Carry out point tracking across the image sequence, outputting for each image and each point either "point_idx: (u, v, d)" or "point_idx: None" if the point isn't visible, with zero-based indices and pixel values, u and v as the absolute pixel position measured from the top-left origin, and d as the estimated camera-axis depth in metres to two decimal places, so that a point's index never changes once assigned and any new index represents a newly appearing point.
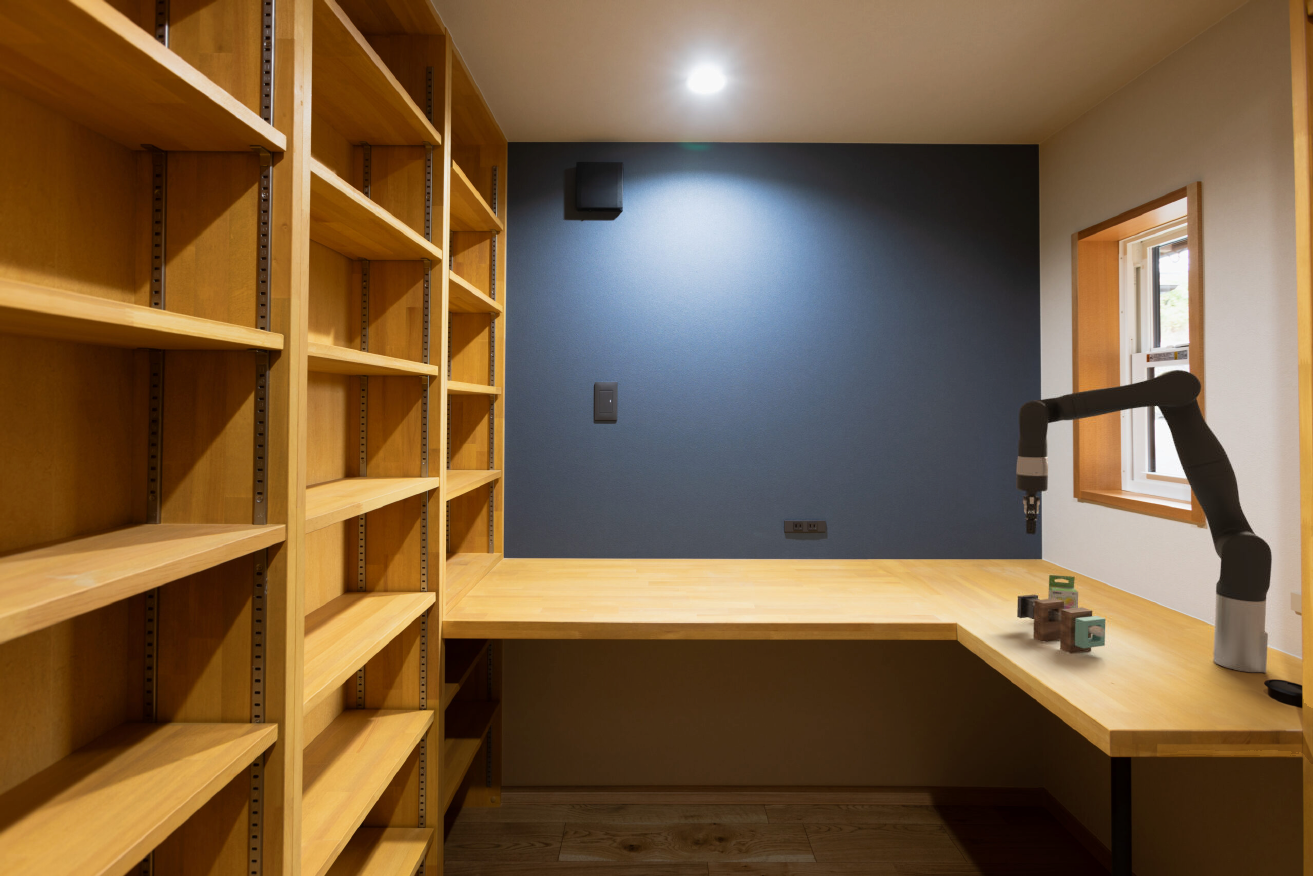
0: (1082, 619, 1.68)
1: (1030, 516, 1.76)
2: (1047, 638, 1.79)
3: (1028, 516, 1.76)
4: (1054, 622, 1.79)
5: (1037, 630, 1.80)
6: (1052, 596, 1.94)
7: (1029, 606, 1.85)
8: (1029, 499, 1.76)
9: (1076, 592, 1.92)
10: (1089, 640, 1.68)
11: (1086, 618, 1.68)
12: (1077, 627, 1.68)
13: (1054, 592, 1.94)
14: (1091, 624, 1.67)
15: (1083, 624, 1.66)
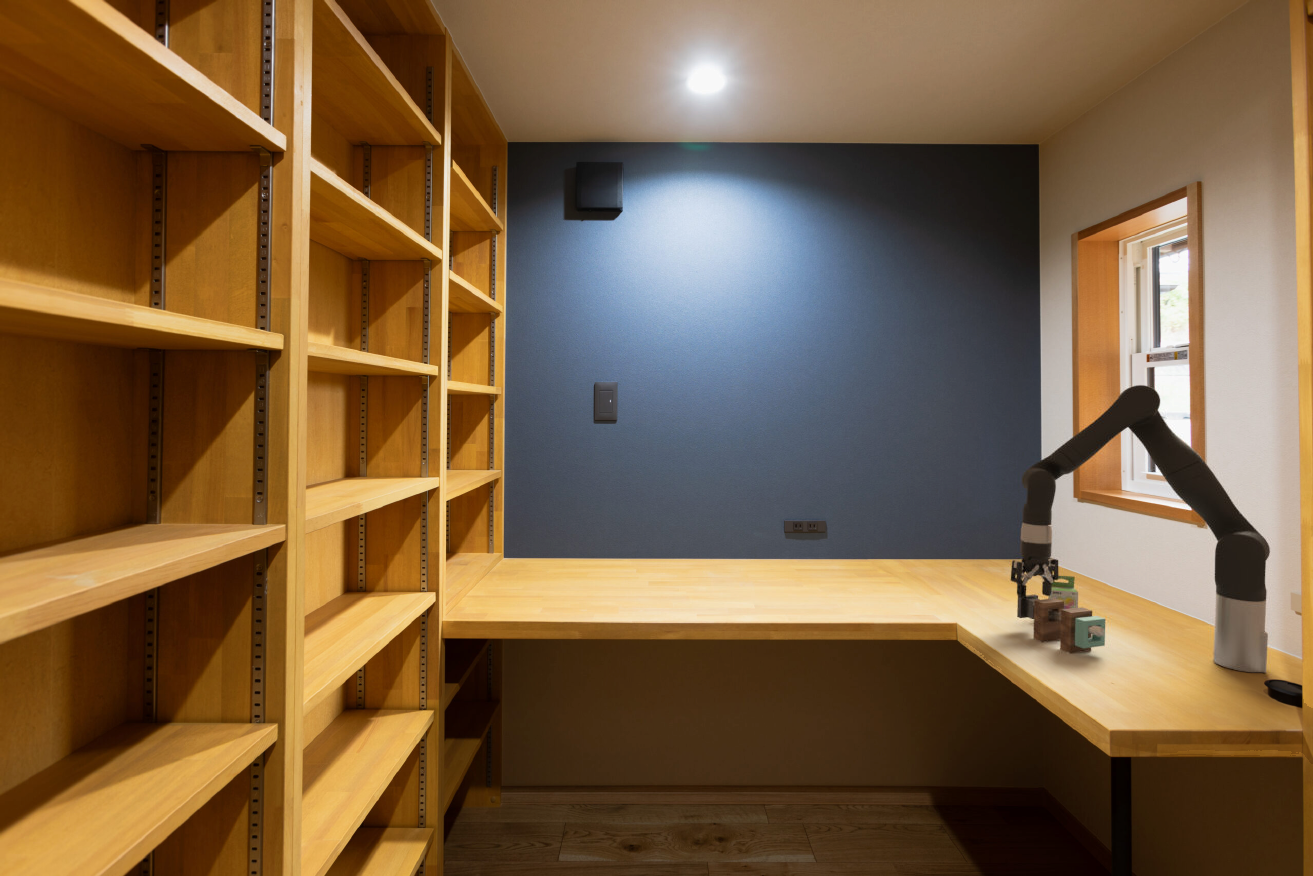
0: (1082, 619, 1.68)
1: None
2: (1047, 638, 1.79)
3: None
4: (1054, 622, 1.79)
5: (1037, 630, 1.80)
6: (1052, 596, 1.94)
7: (1029, 606, 1.85)
8: None
9: (1076, 592, 1.92)
10: (1089, 640, 1.68)
11: (1086, 618, 1.68)
12: (1077, 627, 1.68)
13: (1054, 592, 1.94)
14: (1091, 624, 1.67)
15: (1083, 624, 1.66)
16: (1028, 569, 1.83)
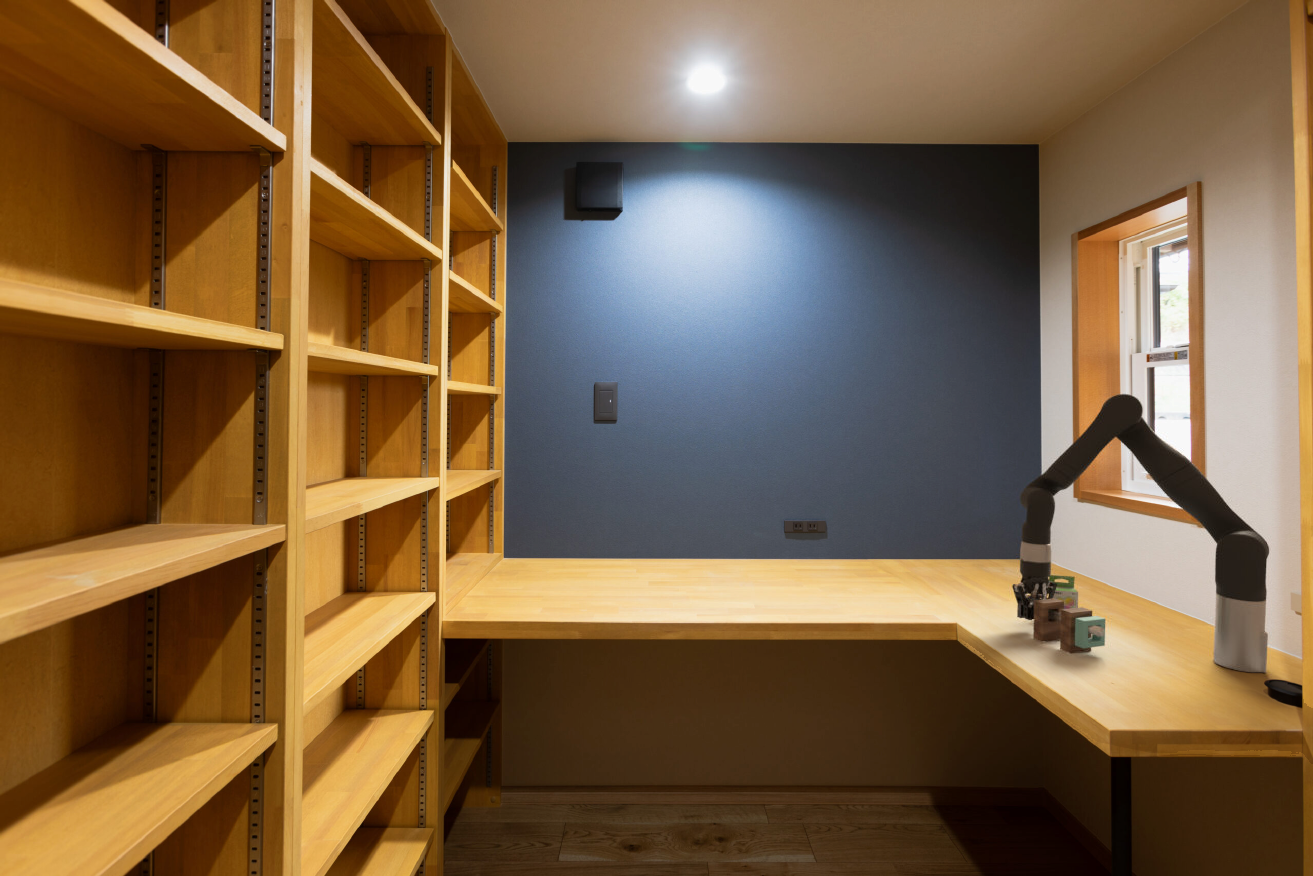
0: (1082, 619, 1.68)
1: None
2: (1047, 638, 1.79)
3: None
4: (1054, 622, 1.79)
5: (1037, 630, 1.80)
6: None
7: None
8: None
9: (1076, 592, 1.92)
10: (1089, 640, 1.68)
11: (1086, 618, 1.68)
12: (1077, 627, 1.68)
13: None
14: (1091, 624, 1.67)
15: (1083, 624, 1.66)
16: (1029, 590, 1.83)
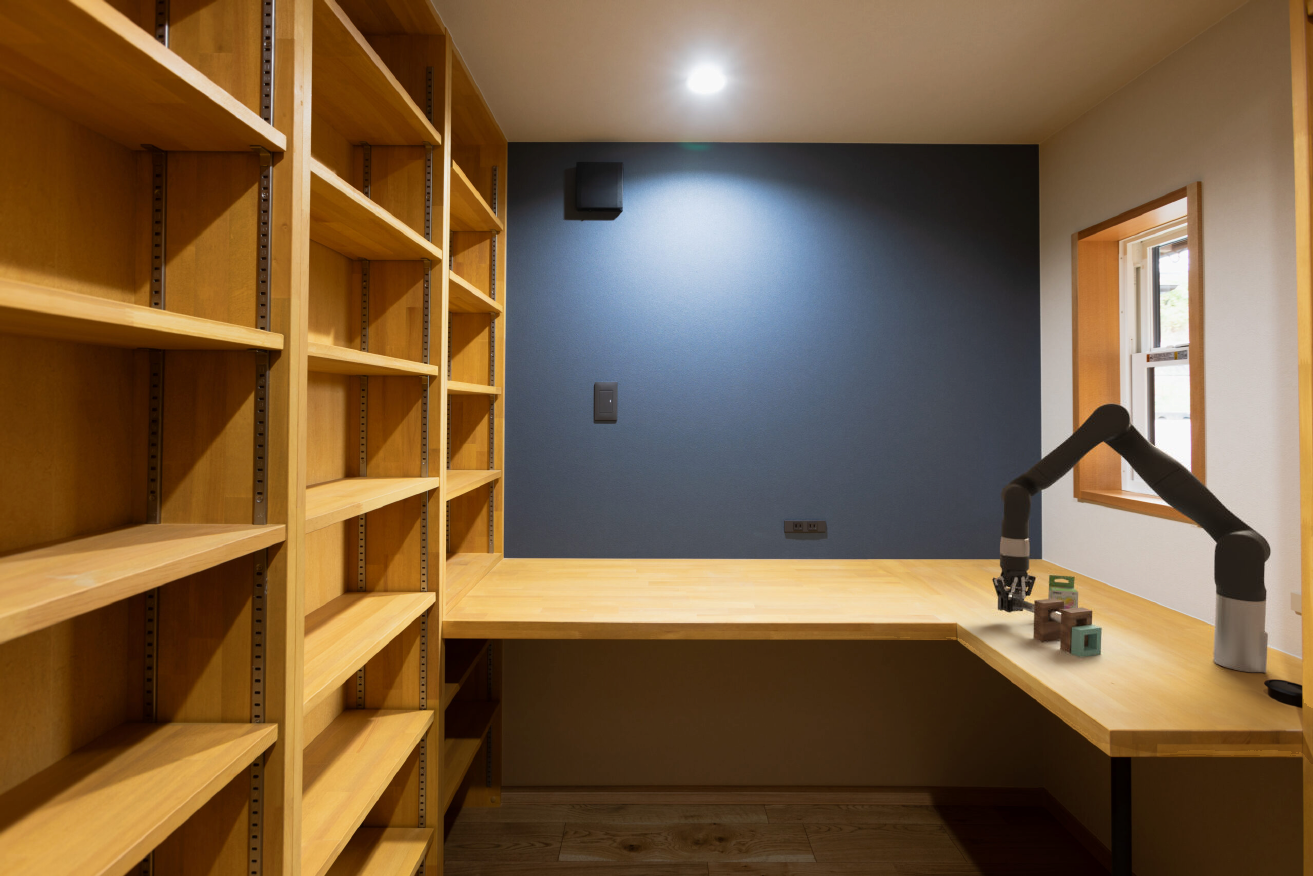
0: (1078, 628, 1.69)
1: None
2: (1047, 638, 1.79)
3: None
4: (1054, 622, 1.79)
5: (1037, 630, 1.80)
6: (1052, 596, 1.94)
7: None
8: None
9: (1076, 592, 1.92)
10: (1085, 649, 1.69)
11: (1082, 627, 1.69)
12: (1073, 636, 1.69)
13: (1054, 592, 1.94)
14: (1087, 633, 1.68)
15: (1079, 633, 1.67)
16: (1009, 584, 1.90)
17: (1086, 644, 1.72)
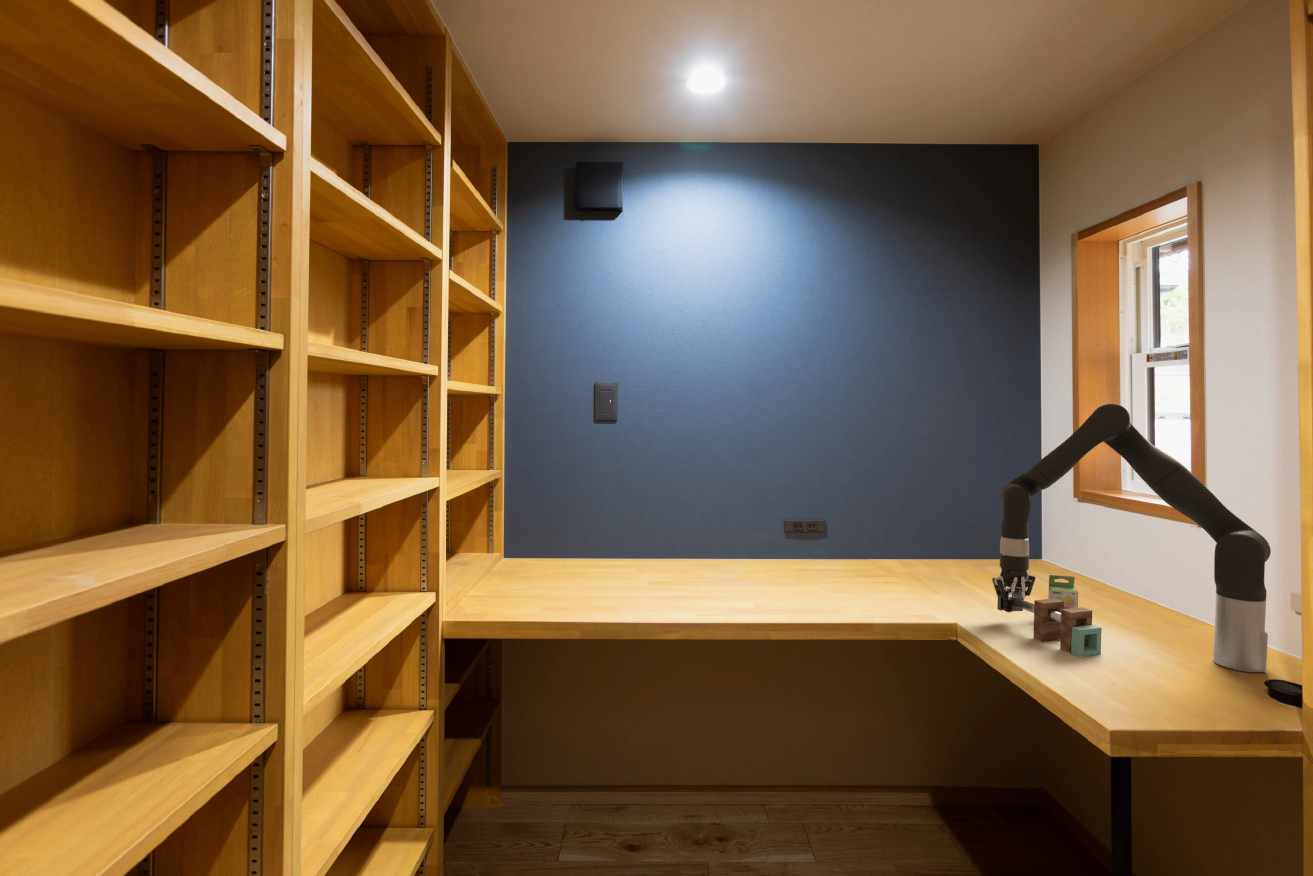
0: (1078, 628, 1.69)
1: None
2: (1047, 638, 1.79)
3: None
4: (1054, 622, 1.79)
5: (1037, 630, 1.80)
6: (1052, 596, 1.94)
7: None
8: None
9: (1076, 592, 1.92)
10: (1085, 649, 1.69)
11: (1082, 627, 1.69)
12: (1073, 636, 1.69)
13: (1054, 592, 1.94)
14: (1087, 633, 1.68)
15: (1079, 633, 1.67)
16: (1008, 584, 1.90)
17: (1086, 644, 1.72)
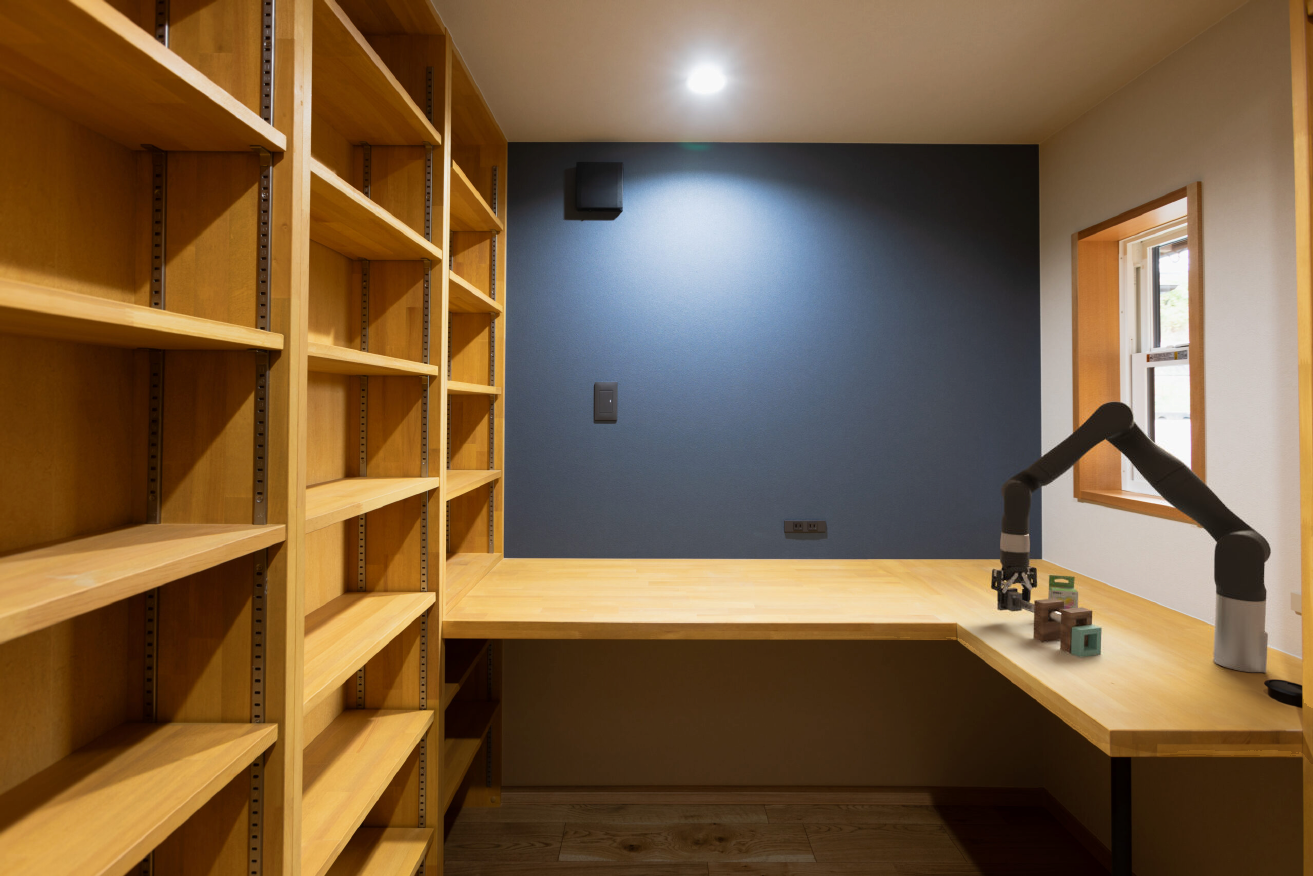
0: (1078, 628, 1.69)
1: None
2: (1047, 638, 1.79)
3: None
4: (1054, 622, 1.79)
5: (1037, 630, 1.80)
6: (1052, 596, 1.94)
7: (1008, 599, 1.92)
8: None
9: (1076, 592, 1.92)
10: (1085, 649, 1.69)
11: (1082, 627, 1.69)
12: (1073, 636, 1.69)
13: (1054, 592, 1.94)
14: (1087, 633, 1.68)
15: (1079, 633, 1.67)
16: (1007, 577, 1.90)
17: (1086, 644, 1.72)
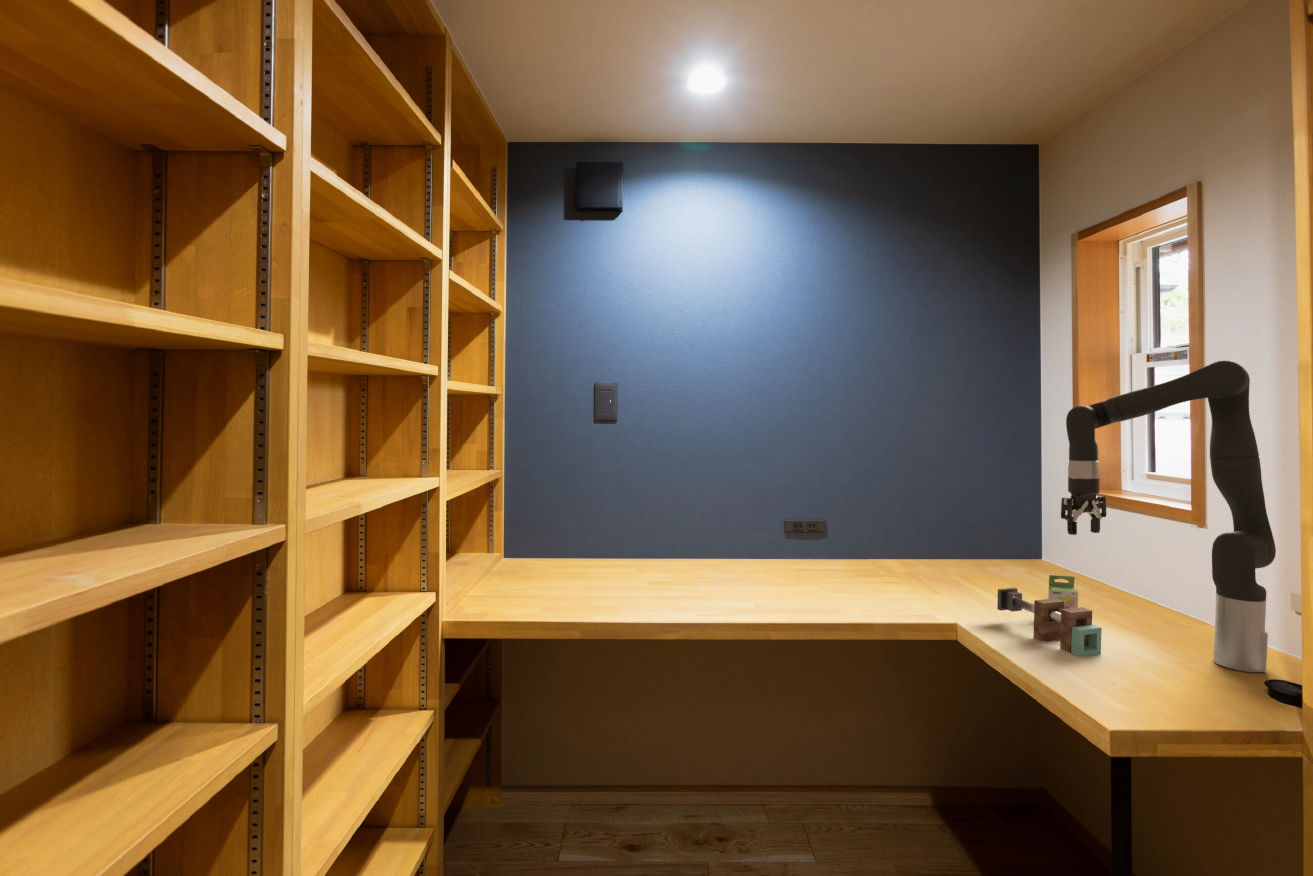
0: (1078, 628, 1.69)
1: None
2: (1047, 638, 1.79)
3: None
4: (1054, 622, 1.79)
5: (1037, 630, 1.80)
6: (1052, 596, 1.94)
7: (1008, 599, 1.92)
8: None
9: (1076, 592, 1.92)
10: (1085, 649, 1.69)
11: (1082, 627, 1.69)
12: (1073, 636, 1.69)
13: (1054, 592, 1.94)
14: (1087, 633, 1.68)
15: (1079, 633, 1.67)
16: (1078, 505, 1.84)
17: (1086, 644, 1.72)
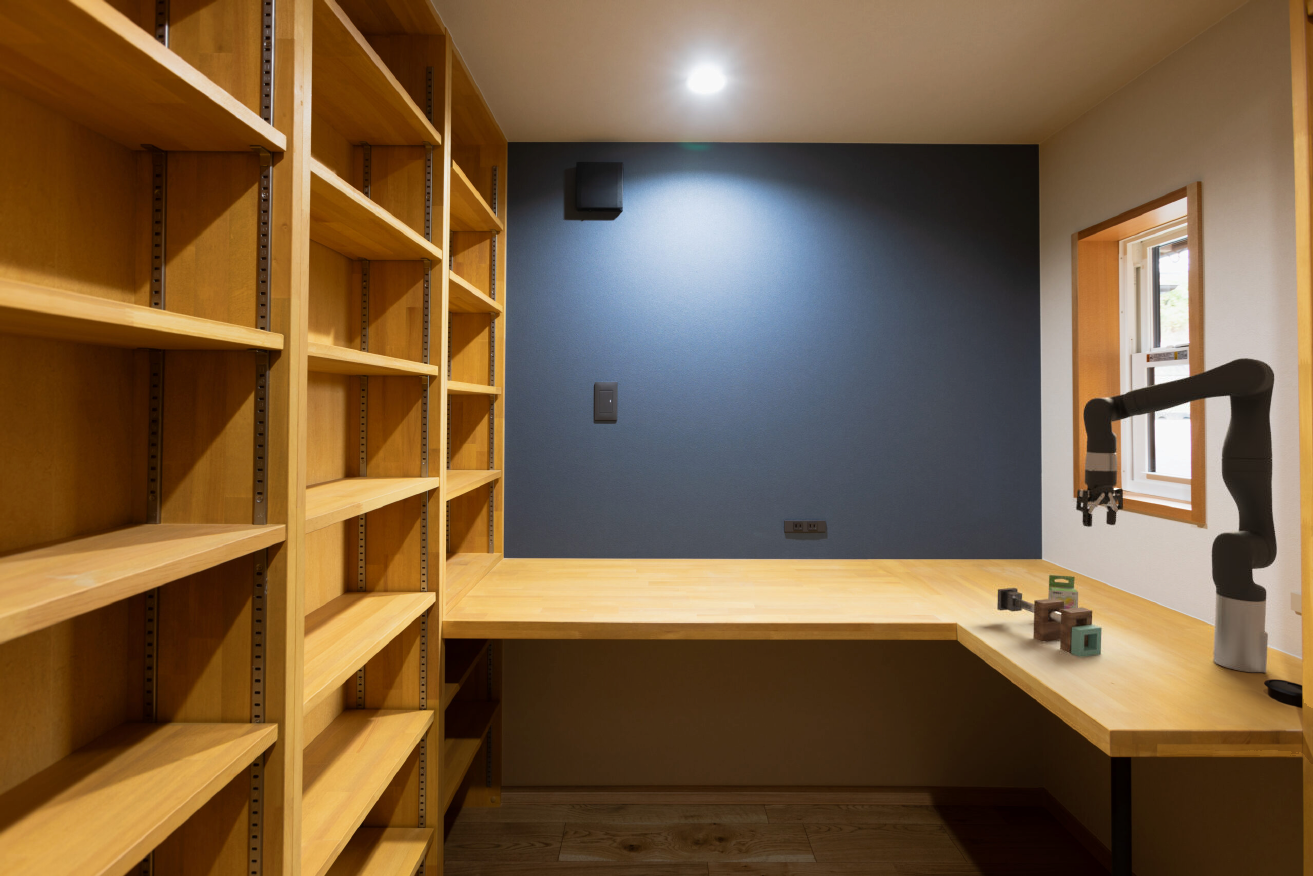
0: (1078, 628, 1.69)
1: None
2: (1047, 638, 1.79)
3: None
4: (1054, 622, 1.79)
5: (1037, 630, 1.80)
6: (1052, 596, 1.94)
7: (1008, 599, 1.92)
8: None
9: (1076, 592, 1.92)
10: (1085, 649, 1.69)
11: (1082, 627, 1.69)
12: (1073, 636, 1.69)
13: (1054, 592, 1.94)
14: (1087, 633, 1.68)
15: (1079, 633, 1.67)
16: (1094, 497, 1.84)
17: (1086, 644, 1.72)
